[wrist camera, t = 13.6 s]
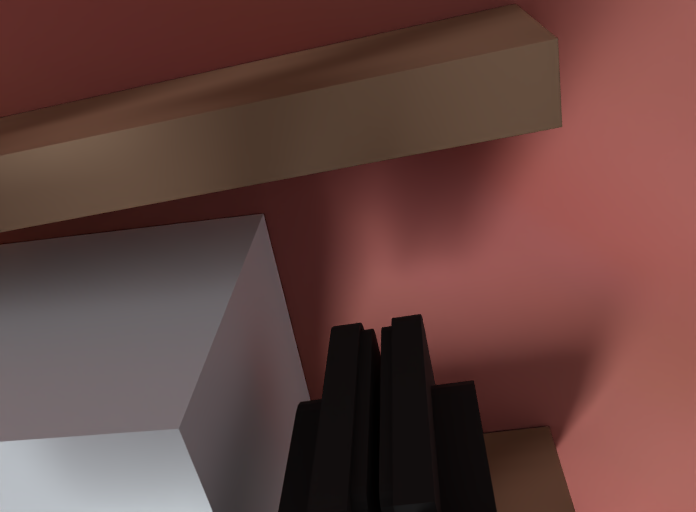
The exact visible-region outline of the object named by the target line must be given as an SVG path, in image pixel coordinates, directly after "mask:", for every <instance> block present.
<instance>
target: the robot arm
mask: <svg viewBox="0 0 696 512" xmlns="http://www.w3.org/2000/svg"><path fill="white" fill-rule="evenodd" d="M278 512H497V509H496V503H495V497H494V492H493V486H492V480H491V475H490V469H489V464H488V458H487V452H486V447H485V441H484V435H483V430H482V424H481V418H480V413H479V407H478V402H477V396H476V390H475V385H474V381H465V382H457V383H449V384H441V385H435V381H434V376H433V371H432V365H431V360H430V355H429V350H428V345H427V340H426V334H425V329H424V324H423V319H422V315H421V314H418V315H411V316H404V317H397V318H392V326H389V327H382V329H381V355H380V351H379V347H378V343H377V338H376V335H375V331H374V329H368V330H364V328H363V325H362V323H355V324H348V325H341V326H334V327H332V328H331V334H330V341H329V349H328V356H327V364H326V371H325V379H324V386H323V394H322V399H319V400H311V401H303V402H300V403H299V404H298V407H297V410H296V415H295V420H294V426H293V431H292V437H291V442H290V448H289V454H288V459H287V465H286V470H285V476H284V481H283V487H282V493H281V498H280V504H279V509H278Z"/></svg>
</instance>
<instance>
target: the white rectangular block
mask: <svg viewBox="0 0 696 512" xmlns="http://www.w3.org/2000/svg"><path fill="white" fill-rule="evenodd" d="M303 401H310V397H309V393H308V389H307V385H306V381H305V377H304V373H303V369H302V365H301V361H300V357H299V353H298V349H297V345H296V341H295V337H294V333H293V329H292V325H291V321H290V317H289V313H288V309H287V305H286V301H285V297H284V294H283V290H282V286H281V282H280V278H279V274H278V270H277V266H276V262H275V258H274V254H273V250H272V246H271V242H270V238H269V234H268V230H267V226H266V222H265V218H264V214H256V215H247V216H239V217H230V218H222V219H213V220H205V221H196V222H188V223H179V224H171V225H162V226H154V227H145V228H137V229H129V230H120V231H112V232H103V233H95V234H86V235H78V236H69V237H61V238H52V239H44V240H35V241H27V242H18V243H10V244H2V245H0V512H278V509H279V504H280V498H281V493H282V487H283V481H284V476H285V470H286V465H287V459H288V454H289V448H290V442H291V437H292V431H293V426H294V420H295V415H296V410H297V407H298V404H299V403H300V402H303Z"/></svg>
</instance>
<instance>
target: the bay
mask: <svg viewBox="0 0 696 512" xmlns="http://www.w3.org/2000/svg"><path fill="white" fill-rule="evenodd" d="M559 127H562V114H561V93H560V73H559V52H558V38H557V37H555V36H554V35H553V34H552V33H551V32H549V31H548V30H547V29H546V28H545V27H543V26H542V25H541V24H540V23H538V22H537V21H536V20H535V19H534V18H532V17H531V16H530V15H529V14H527V13H526V12H525V11H524V10H523V9H521V8H520V7H519V6H518V5H517V4H512V5H507V6H503V7H498V8H494V9H489V10H485V11H480V12H476V13H471V14H467V15H462V16H458V17H453V18H449V19H444V20H440V21H435V22H431V23H426V24H422V25H417V26H412V27H408V28H403V29H399V30H394V31H390V32H385V33H381V34H376V35H372V36H367V37H363V38H358V39H354V40H349V41H345V42H340V43H336V44H331V45H327V46H322V47H318V48H313V49H309V50H304V51H300V52H295V53H291V54H286V55H282V56H277V57H273V58H268V59H263V60H259V61H254V62H250V63H245V64H241V65H236V66H232V67H227V68H223V69H218V70H214V71H209V72H205V73H200V74H196V75H191V76H187V77H182V78H178V79H173V80H169V81H164V82H160V83H155V84H151V85H146V86H142V87H137V88H133V89H128V90H124V91H119V92H114V93H110V94H105V95H101V96H96V97H92V98H87V99H83V100H78V101H74V102H69V103H65V104H60V105H56V106H51V107H47V108H42V109H38V110H33V111H29V112H24V113H20V114H15V115H11V116H6V117H2V118H0V232H5V231H10V230H16V229H21V228H26V227H32V226H37V225H42V224H48V223H53V222H58V221H64V220H69V219H74V218H80V217H85V216H90V215H96V214H101V213H106V212H112V211H117V210H122V209H128V208H133V207H138V206H144V205H149V204H154V203H160V202H165V201H170V200H176V199H181V198H186V197H192V196H197V195H202V194H208V193H213V192H218V191H224V190H229V189H234V188H239V187H245V186H250V185H255V184H261V183H266V182H271V181H277V180H282V179H287V178H293V177H298V176H303V175H309V174H314V173H319V172H325V171H330V170H335V169H341V168H346V167H351V166H357V165H362V164H367V163H373V162H378V161H383V160H389V159H394V158H399V157H405V156H410V155H415V154H421V153H426V152H431V151H437V150H442V149H447V148H453V147H458V146H463V145H469V144H474V143H479V142H485V141H490V140H495V139H500V138H506V137H511V136H516V135H522V134H527V133H532V132H538V131H543V130H548V129H554V128H559ZM483 435H484V441H485V447H486V452H487V458H488V464H489V469H490V475H491V480H492V486H493V492H494V497H495V503H496V509H497V512H575V509H574V506H573V503H572V500H571V496H570V493H569V490H568V486H567V483H566V480H565V477H564V473H563V470H562V467H561V464H560V460H559V457H558V454H557V451H556V447H555V444H554V441H553V437H552V434H551V431H550V428H549V426H546V427H537V428H528V429H519V430H511V431H502V432H493V433H484V434H483Z"/></svg>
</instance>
